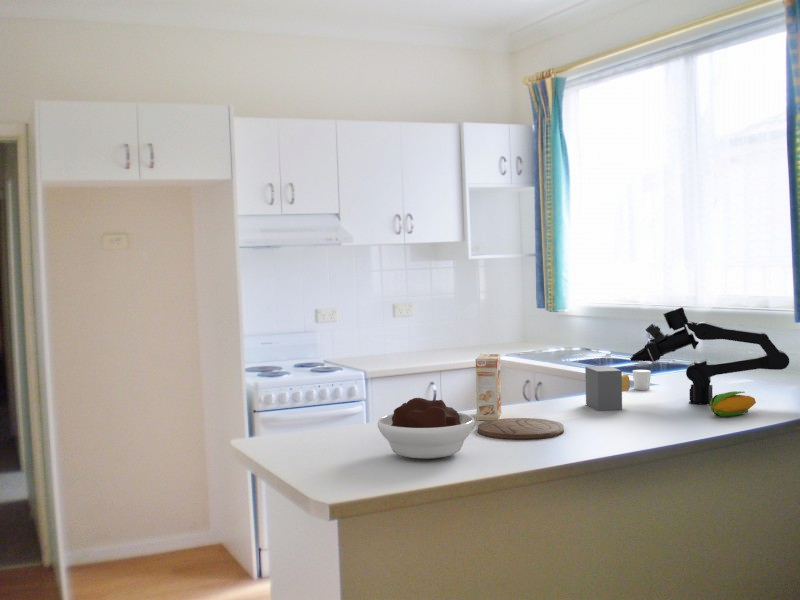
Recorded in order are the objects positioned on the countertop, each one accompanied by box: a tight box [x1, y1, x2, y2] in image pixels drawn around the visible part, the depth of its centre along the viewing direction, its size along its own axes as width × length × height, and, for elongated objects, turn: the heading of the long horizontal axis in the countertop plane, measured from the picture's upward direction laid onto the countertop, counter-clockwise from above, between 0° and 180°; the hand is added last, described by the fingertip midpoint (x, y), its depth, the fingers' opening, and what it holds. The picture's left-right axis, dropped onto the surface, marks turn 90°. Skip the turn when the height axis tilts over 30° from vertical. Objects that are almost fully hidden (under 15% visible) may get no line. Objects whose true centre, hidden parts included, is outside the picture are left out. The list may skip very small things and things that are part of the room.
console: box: [584, 365, 623, 412], centre depth 277 cm, size 8×13×13 cm, turn 5°
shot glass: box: [632, 369, 652, 391], centre depth 315 cm, size 7×7×7 cm
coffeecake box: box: [475, 353, 502, 421], centre depth 266 cm, size 15×7×20 cm, turn 168°
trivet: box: [477, 417, 565, 441], centre depth 241 cm, size 25×25×2 cm
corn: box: [709, 390, 756, 418], centre depth 258 cm, size 7×8×20 cm
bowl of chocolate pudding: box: [377, 397, 476, 460], centre depth 213 cm, size 25×25×15 cm
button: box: [622, 373, 631, 393], centre depth 278 cm, size 6×6×6 cm
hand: (631, 358), depth 288 cm, fingers open, 9 cm apart
